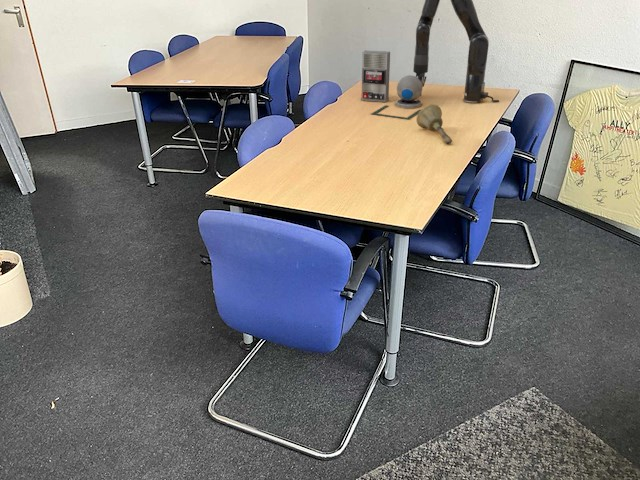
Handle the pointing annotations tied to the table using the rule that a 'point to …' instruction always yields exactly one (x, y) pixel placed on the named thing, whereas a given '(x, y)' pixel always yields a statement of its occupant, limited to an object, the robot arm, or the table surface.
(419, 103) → the webcam
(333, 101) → the table surface
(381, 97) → the cassette tape recorder
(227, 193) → the table surface
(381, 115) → the tape bay
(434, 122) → the handbell
